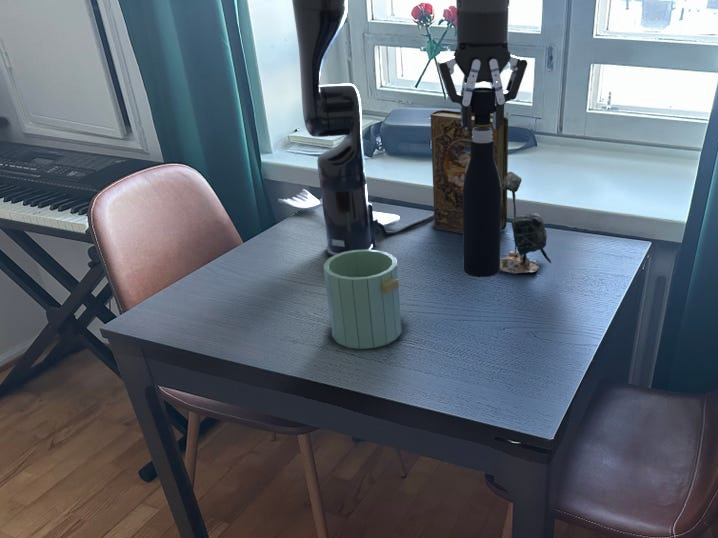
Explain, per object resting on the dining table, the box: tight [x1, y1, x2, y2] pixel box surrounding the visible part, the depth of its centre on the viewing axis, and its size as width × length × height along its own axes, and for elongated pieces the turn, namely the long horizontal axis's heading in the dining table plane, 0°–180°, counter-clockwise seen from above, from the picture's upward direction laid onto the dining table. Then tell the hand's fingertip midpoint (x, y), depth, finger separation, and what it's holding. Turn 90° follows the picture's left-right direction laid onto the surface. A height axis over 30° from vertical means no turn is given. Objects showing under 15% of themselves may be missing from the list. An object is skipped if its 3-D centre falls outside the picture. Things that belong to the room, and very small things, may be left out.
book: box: [429, 109, 509, 234], centre depth 152 cm, size 16×6×25 cm, turn 65°
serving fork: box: [277, 188, 400, 229], centre depth 164 cm, size 9×32×3 cm, turn 59°
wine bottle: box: [462, 86, 502, 278], centre depth 114 cm, size 6×6×30 cm
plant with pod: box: [500, 171, 552, 275], centre depth 135 cm, size 8×11×20 cm
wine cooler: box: [323, 249, 402, 350], centre depth 116 cm, size 12×14×12 cm
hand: (482, 128), depth 110 cm, fingers closed on wine bottle, 4 cm apart
